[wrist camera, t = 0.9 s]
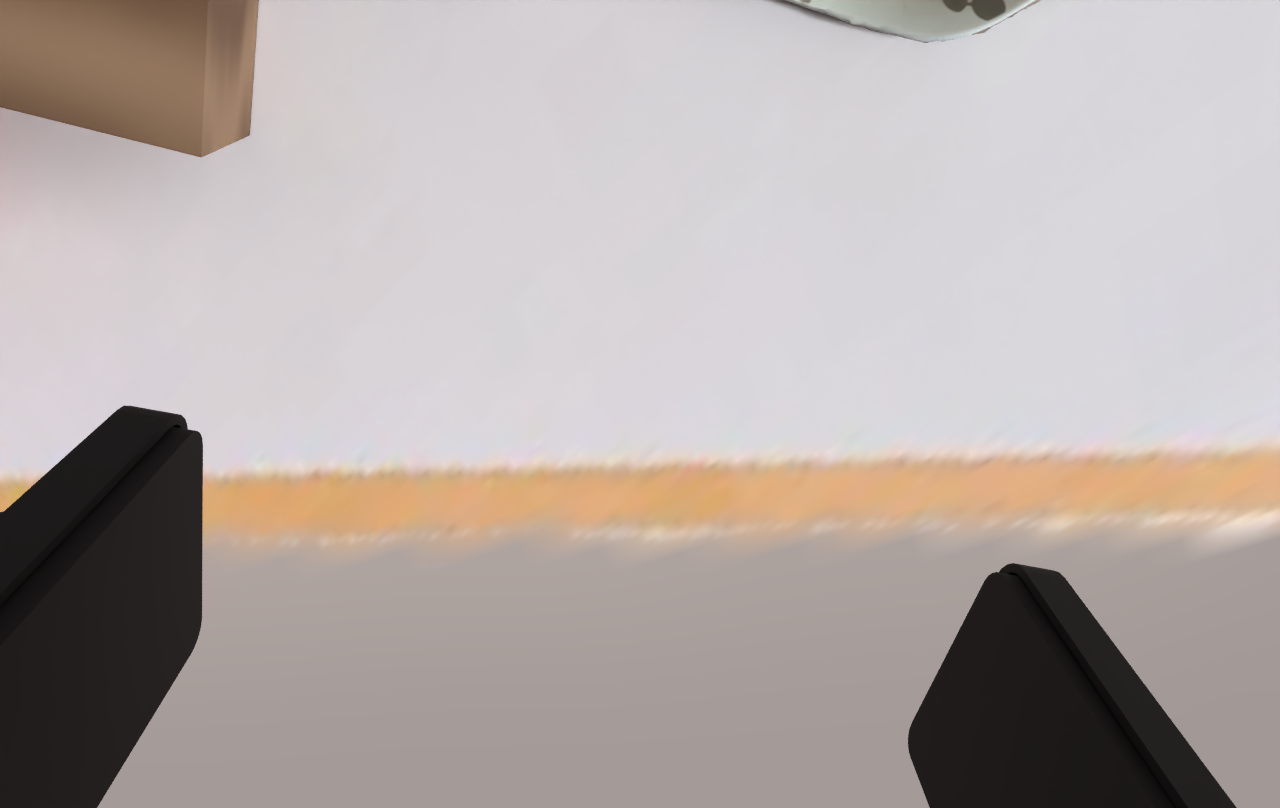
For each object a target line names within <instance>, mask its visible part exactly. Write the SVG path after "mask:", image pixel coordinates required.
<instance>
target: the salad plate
mask: <svg viewBox="0 0 1280 808" xmlns="http://www.w3.org/2000/svg"><path fill="white" fill-rule="evenodd" d="M786 1H789V2H791V3H794V4H797V5H799V6H802V7H805V8H808V9H811V10H814V11H817V12H821V13H824V14H827V15H830V16H833V17H835V18H837V19H839V20H843V21H845V22H847V23H850V24H852V25H855V26H862V27H865V28H867V29H869V30H873V31H877V32H882V33H886V34H891V35H896V36H900V37H903V38H907V39H912V40H916V41H920V42H924V43H927V42H933V41H947V40H953V39H957V38H961V37H965V36H969V35H974V34H979V33H984V32H986V31H987V30H988V29H990V28H991V27H993V26H994V25H996V24H998V23H1000V22H1002V21H1003V20H1005V19H1006V18H1010V17H1012V16H1013V15H1015V14H1016V13H1018V12H1019V11H1021V10H1023V9H1026V8H1028V7H1030V6H1032V5H1034V4H1035V3H1037V2H1039V1H1041V0H786Z"/></svg>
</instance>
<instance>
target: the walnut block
mask: <svg viewBox="0 0 1280 808" xmlns="http://www.w3.org/2000/svg"><path fill="white" fill-rule="evenodd" d="M258 2H259V0H0V107H2V108H6V109H10V110H14V111H18V112H22V113H26V114H30V115H34V116H38V117H42V118H46V119H50V120H54V121H58V122H62V123H66V124H70V125H74V126H78V127H82V128H86V129H90V130H94V131H98V132H102V133H106V134H110V135H114V136H118V137H122V138H126V139H130V140H134V141H138V142H142V143H146V144H150V145H154V146H158V147H162V148H166V149H170V150H174V151H178V152H182V153H186V154H190V155H194V156H198V157H203V156H205V155H207V154H210V153H212V152H214V151H216V150H218V149H221V148H223V147H225V146H227V145H229V144H232V143H234V142H236V141H238V140H240V139H243V138H245V137H247V136H249V135H250V123H251V108H252V92H253V77H254V62H255V47H256V32H257V17H258Z"/></svg>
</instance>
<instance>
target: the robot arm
mask: <svg viewBox="0 0 1280 808" xmlns="http://www.w3.org/2000/svg"><path fill="white" fill-rule="evenodd" d="M202 486H203V443H202V437H201V434H200V433H199V432H198V431H193V430H188V428H187V423H186V420H185V418H184V417H183V416H182V415H178V414H173V413H167V412H162V411H156V410H150V409H145V408H139V407H134V406H123V407H121V408H120V409H118V410H117V411H116V412H114V413H113V414H112V415H111V416H110V417H109V418H108V419H107V420H106V421H104V422H103V423H102V424H101V425H100V426H99V427H98V428H97V429H96V430H94V431H93V432H92V433H91V434H90V435H89V436H88V437H87V438H86V439H84V440H83V441H82V442H81V443H80V444H79V445H78V446H77V447H75V448H74V449H73V450H72V451H71V452H70V453H69V454H68V455H67V456H65V457H64V458H63V459H62V460H61V461H60V462H59V463H58V464H57V465H55V466H54V467H53V468H52V469H51V470H50V471H49V472H48V473H46V474H45V475H44V476H43V477H42V478H41V479H40V480H39V481H38V482H36V483H35V484H34V485H33V486H32V487H31V488H30V489H29V490H28V491H26V492H25V493H24V494H23V495H22V496H21V497H20V498H19V499H17V500H16V501H15V502H14V503H13V504H12V505H11V506H10V507H9V508H7V509H6V510H5V511H4V512H0V808H97V807H98V805H99V803H100V802H101V800H102V798H103V797H104V795H105V793H106V792H107V790H108V789H109V787H110V785H111V784H112V782H113V781H114V779H115V777H116V776H117V774H118V772H119V771H120V769H121V767H122V766H123V764H124V762H125V761H126V759H127V758H128V756H129V754H130V753H131V751H132V749H133V747H134V746H135V745H136V743H137V741H138V740H139V738H140V736H141V735H142V733H143V731H144V730H145V728H146V726H147V725H148V723H149V721H150V720H151V718H152V717H153V715H154V713H155V712H156V710H157V708H158V707H159V705H160V704H161V702H162V700H163V699H164V697H165V695H166V694H167V692H168V691H169V689H170V687H171V686H172V684H173V682H174V681H175V679H176V677H177V676H178V674H179V673H180V671H181V669H182V668H183V666H184V664H185V663H186V661H187V659H188V658H189V656H190V655H191V653H192V651H193V649H194V647H195V644H196V642H197V639H198V636H199V632H200V628H201V621H202ZM908 736H909V737H908V747H909V753H910V757H911V759H912V762H913V765H914V767H915V770H916V773H917V775H918V778H919V780H920V783H921V786H922V788H923V791H924V794H925V796H926V799H927V801H928V804H929V807H930V808H1236V806H1235V805H1234V804H1233V802H1232V801H1231V800H1230V798H1229V797H1228V796H1227V794H1226V793H1225V792H1224V790H1223V789H1222V788H1221V786H1220V785H1219V784H1218V782H1217V781H1216V780H1215V778H1214V777H1213V776H1212V775H1211V773H1210V772H1209V770H1208V769H1207V768H1206V766H1205V765H1204V764H1203V762H1202V761H1201V760H1200V758H1199V757H1198V756H1197V754H1196V753H1195V752H1194V750H1193V749H1192V748H1191V746H1190V745H1189V744H1188V742H1187V741H1186V739H1185V738H1184V737H1183V735H1182V734H1181V733H1180V731H1179V730H1178V729H1177V727H1176V726H1175V725H1174V724H1173V722H1172V721H1171V719H1170V718H1169V717H1168V716H1167V714H1166V713H1165V711H1164V710H1163V709H1162V707H1161V706H1160V705H1159V703H1158V702H1157V701H1156V700H1155V698H1154V697H1153V695H1152V694H1151V693H1150V691H1149V690H1148V689H1147V687H1146V686H1145V685H1144V684H1143V682H1142V681H1141V679H1140V678H1139V677H1138V675H1137V674H1136V673H1135V671H1134V670H1133V669H1132V667H1131V666H1130V665H1129V663H1128V662H1127V660H1126V659H1125V658H1124V656H1123V655H1122V654H1121V653H1120V651H1119V650H1118V649H1117V647H1116V646H1115V645H1114V643H1113V642H1112V641H1111V639H1110V638H1109V636H1108V635H1107V634H1106V632H1105V631H1104V630H1103V628H1102V627H1101V626H1100V624H1099V623H1098V622H1097V620H1096V619H1095V618H1094V616H1093V615H1092V614H1091V612H1090V611H1089V610H1088V608H1087V607H1086V606H1085V604H1084V603H1083V602H1082V600H1081V599H1080V598H1079V596H1078V595H1077V594H1076V593H1075V591H1074V590H1073V588H1072V587H1071V586H1070V584H1069V583H1068V581H1067V580H1066V579H1065V578H1064V577H1063V576H1062V575H1061V574H1060V573H1059V572H1056V571H1053V570H1047V569H1042V568H1037V567H1031V566H1025V565H1020V564H1014V563H1013V564H1008V565H1006V566H1005V567H1003V568H1002V569H1001V570H1000V572H999V573H998V572H995V573H992V574H991V575H989V576H988V577H987V578H986V580H985V581H984V583H983V585H982V587H981V589H980V591H979V593H978V595H977V597H976V599H975V601H974V603H973V605H972V607H971V609H970V610H969V613H968V614H967V616H966V618H965V620H964V622H963V624H962V626H961V628H960V630H959V632H958V634H957V636H956V638H955V640H954V642H953V644H952V646H951V647H950V649H949V652H948V653H947V655H946V658H945V659H944V661H943V663H942V665H941V667H940V669H939V671H938V673H937V675H936V677H935V679H934V681H933V683H932V685H931V687H930V689H929V690H928V692H927V694H926V696H925V698H924V700H923V702H922V704H921V706H920V708H919V710H918V712H917V714H916V716H915V718H914V720H913V722H912V724H911V727H910V730H909V735H908Z"/></svg>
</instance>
